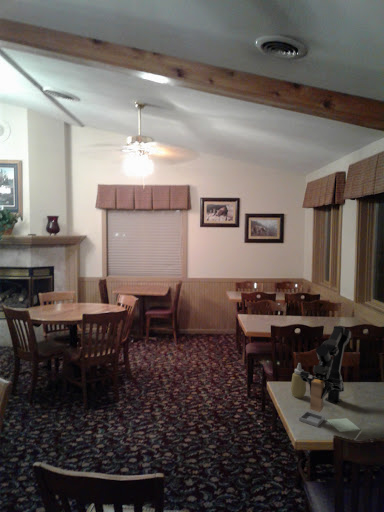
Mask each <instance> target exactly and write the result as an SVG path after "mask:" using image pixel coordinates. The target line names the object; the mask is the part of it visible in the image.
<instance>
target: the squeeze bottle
mask: <svg viewBox="0 0 384 512" xmlns="http://www.w3.org/2000/svg"><path fill="white" fill-rule="evenodd" d="M301 371H305V370H304V369H302V364H301V362H298V363H297V367H296V368H294V372H293V373H292V377H291V385H290V392H291V395H292V397H293V398H298V399H299V398H300V399H303V398H304V397H305V394H306V392H307V384H306V383H307V382H305V381H302V380H301V377H300V372H301Z"/></svg>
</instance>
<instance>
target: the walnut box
mask: <svg viewBox="0 0 384 512" xmlns="http://www.w3.org/2000/svg"><path fill="white" fill-rule="evenodd" d="M324 387H325V384H324V381H322V380H318V379H314V380H313V381H312V382H311V395H310V401H309V402H310V404H309V410H311V411H315V412H318V413H321V412H322V411H323V408H324V398H323V399H321V396H322V392H323V390H324Z"/></svg>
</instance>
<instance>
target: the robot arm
mask: <svg viewBox="0 0 384 512" xmlns="http://www.w3.org/2000/svg"><path fill="white" fill-rule="evenodd" d="M351 338H352V331H351V330H350V329H347V328H345V327H343V326H338V325H334V326H333V330H332V332H331V334H330V335H329V338H328V339H326V340H324V341H323V342H322V344H320V345H319V346H317V348H316V349H315V353H316V355H317V358H318V360H319V362H318V364H317V365H313V369H312V373H313V375H312V374H311V373H310V372H309V371H306V370H304V371H301V372H300V377H301V380H302V381H305V382H306V383H307V384H308V385H309V391H310V393H309V395H310V396H311V382H312V381H313V380H314V379H318V380H322V381H324V390H323V392H322V396H321V399H323V400H325V401H327V402H329V403H333V404H335V405H338V404H339V403H340V402H342V401H343V399H342V398H340V395H341V394H340V393H342V392H344V391H345V385H344V381H343V376H342V375H341V370H342V369H341V368H342V363H343V357H344V352H345V346H347V345H348V343H349V342H350V339H351ZM325 396H327V397H326V398H325Z"/></svg>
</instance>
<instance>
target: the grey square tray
mask: <svg viewBox="0 0 384 512" xmlns="http://www.w3.org/2000/svg"><path fill="white" fill-rule="evenodd" d="M298 421H299V422H302V423H304V424H308V425H311V426H314V427H316V428H317V427H319V426H320V425H321V424H322V423H323V422H324V421H325V416H323V415H321V414H317V413H313V412H311V411H308V410H306V411H305V412H304V413H302V415H300V416H299V417H298Z"/></svg>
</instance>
